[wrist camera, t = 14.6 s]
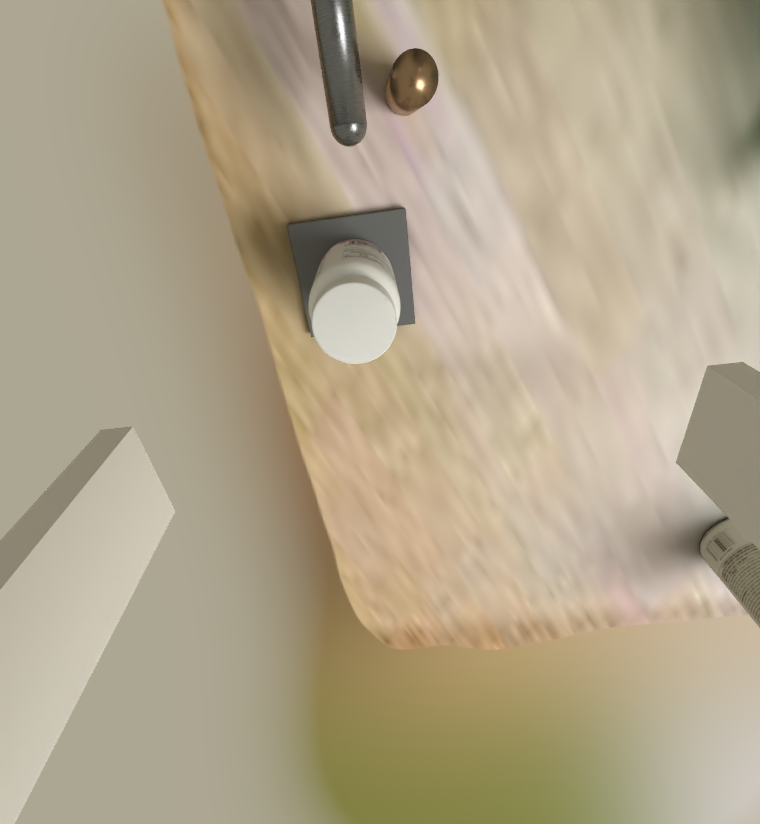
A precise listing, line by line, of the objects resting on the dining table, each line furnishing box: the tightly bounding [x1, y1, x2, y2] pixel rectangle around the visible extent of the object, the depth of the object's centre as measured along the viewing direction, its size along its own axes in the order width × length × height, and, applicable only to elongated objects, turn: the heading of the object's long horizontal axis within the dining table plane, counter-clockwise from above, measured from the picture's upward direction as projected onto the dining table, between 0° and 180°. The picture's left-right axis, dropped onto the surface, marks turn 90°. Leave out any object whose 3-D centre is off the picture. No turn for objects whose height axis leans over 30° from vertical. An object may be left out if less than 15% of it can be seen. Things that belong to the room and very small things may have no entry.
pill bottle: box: [308, 239, 400, 364], centre depth 24 cm, size 5×5×8 cm
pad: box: [287, 208, 415, 337], centre depth 28 cm, size 7×7×1 cm
